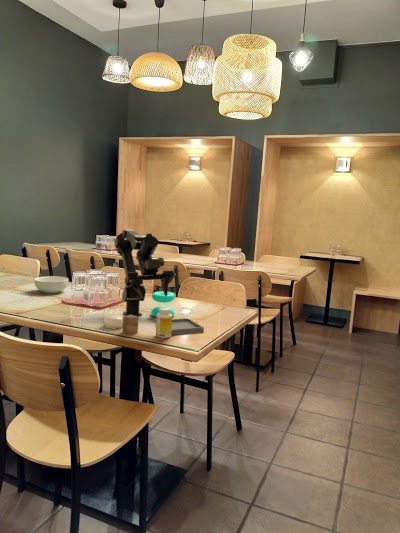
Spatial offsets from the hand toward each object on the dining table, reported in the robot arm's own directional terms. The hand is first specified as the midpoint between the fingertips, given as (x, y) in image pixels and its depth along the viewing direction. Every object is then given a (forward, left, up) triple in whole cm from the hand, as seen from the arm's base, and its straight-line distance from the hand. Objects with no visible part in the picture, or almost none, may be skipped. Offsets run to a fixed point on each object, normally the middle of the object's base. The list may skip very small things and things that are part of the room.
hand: (154, 296), depth 154 cm
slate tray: (0, +11, -13) cm, 17 cm away
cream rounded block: (-10, -12, -13) cm, 21 cm away
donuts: (-20, +12, -13) cm, 27 cm away
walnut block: (0, -9, -13) cm, 16 cm away
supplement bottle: (+8, +1, -13) cm, 16 cm away
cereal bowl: (-80, -26, -13) cm, 85 cm away
